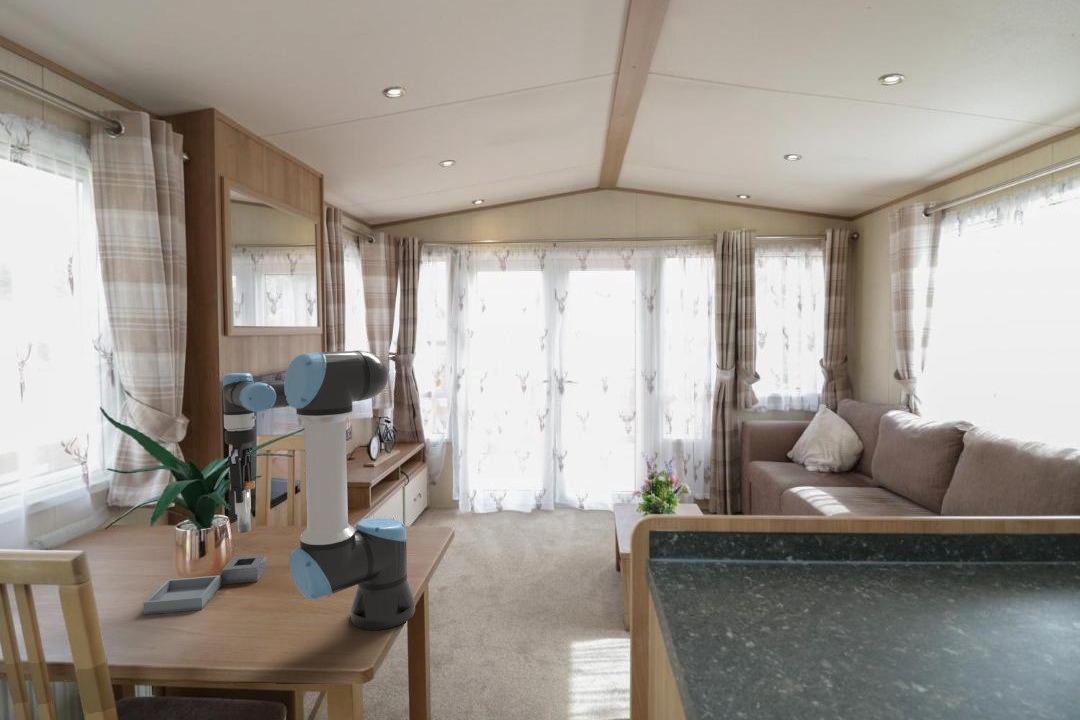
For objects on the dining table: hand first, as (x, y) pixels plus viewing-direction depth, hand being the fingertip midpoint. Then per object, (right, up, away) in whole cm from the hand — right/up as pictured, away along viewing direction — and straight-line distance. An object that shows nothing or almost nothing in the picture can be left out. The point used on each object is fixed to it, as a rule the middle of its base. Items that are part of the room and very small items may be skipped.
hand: (243, 511), depth 159 cm
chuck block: (0, -19, +1) cm, 19 cm away
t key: (0, -6, 0) cm, 6 cm away
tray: (-8, -19, -13) cm, 25 cm away
